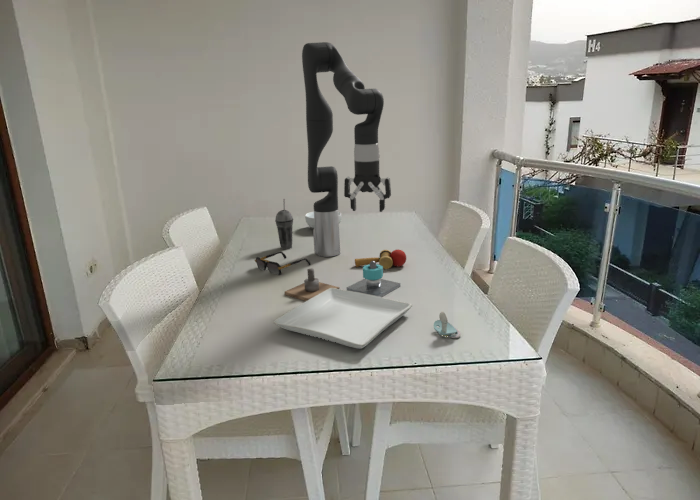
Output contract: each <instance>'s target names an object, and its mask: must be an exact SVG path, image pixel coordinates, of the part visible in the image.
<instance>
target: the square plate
mask: <svg viewBox="0 0 700 500" xmlns="http://www.w3.org/2000/svg"><path fill="white" fill-rule="evenodd" d="M412 307H413V304H412V303H409V302H404V301H400V300H395V299H390V298H386V297H384V296H382V297H378V296H373V295H369V294H364V293H359V292H353V291H347V289H340V288H339V289H336V288H329V289H327V290H326V291H324V292H322V293H320V294H318V295H316V296H315V297H313V298H311V299H309V300H308V301H304V302H302V303H300V304H299V305H297V306H296V307H294V308H292V309H291V310H288V311H287V312H286V313H284V314H283V315H281V316H279V317H277V318H276V319H274V320H273V321H272V323H273V324H275V325H276V326H278V327H280V328H282V329H284V330H287V331H290V332H295V333H299V334H302V335H305V334H306V336H309V335H310V336H309V337H313V336H314V337H313V338H316V337H318V338H317V339H320V338H322V339H321V340H324V339H325V340H324V341H328V340H329V341H328V342H332V343H335V342H336V343H335V344H340V345H341V346H346V347H350V348H353V349H360V350H361V349H363V348H364V347H366V346H368V345H369V344H370V343H371V342H372V341H373V340H374V339H375V338H377V337H378V336H379V335H380V334H381V333H382V332H383V331H384V330H386V329H387V328H389V327H390V326H391V325H393V324H395V322H397V321H398V320H399V319H401V318H402V317H403V316H404V315H405V314H406V313H407V312H409V310H410V309H412Z"/></svg>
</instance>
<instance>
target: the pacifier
mask: <svg viewBox="0 0 700 500" xmlns="http://www.w3.org/2000/svg"><path fill="white" fill-rule="evenodd" d="M433 330H434V331H436V332H437V333H438V335H439V336H441V335H443V336H446V337H447V336H448V338H450V337H451V339H458V338H460V337H461V336H460V335H462V334H461V331H460V330H459V329H458V328H457V327H455V326H453V325H452V324H451V323H450V322H449V321H448V317H447V315H446V313H445V312H444V311H440V313H439V319H437V320H435V321H434V323H433ZM456 332H457V333H456ZM443 336H442V337H443ZM446 337H445V338H446Z"/></svg>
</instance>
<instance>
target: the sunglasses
mask: <svg viewBox="0 0 700 500" xmlns="http://www.w3.org/2000/svg"><path fill="white" fill-rule="evenodd" d="M278 254H281V255H282V258H284V260H285V259H287V255H286V254H285V253H284V252H283V251H278V252H273V253H271V254H267V255H265V256H261V257H260V256H256V257H255V259H254V262H255V263H256V265H257V268H258V269H260V270H262V271H263V272H265V271H266V270H268V271H269V273H270V274H273V275H278V276H280V275H282V270H283V269H285V268H289V267H291V266H293V265H296V264H298V263H301V262H302V261H306V264H307V266H311V262H310V260H308V259H307V258H301V259H298V260H295V261H292V262H289V263H287V264H284V265H282V266H281V265H280V263H278V262H275V261H271V260H267V259H268V258H271V257H273V256H276V255H278Z"/></svg>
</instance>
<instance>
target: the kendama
mask: <svg viewBox="0 0 700 500" xmlns="http://www.w3.org/2000/svg"><path fill="white" fill-rule="evenodd" d="M371 261H375V262H376V264H379V265H381V266H383V270H388V269H389V270H390V269H391V268H392V266H394V267H402V266H404V265H405V264H406V261H407V255H406V252H405V251H403V249H395V250H392V251H390V250H389V249H383V250H381V251H380V252H379V257H365V258H354V264H355V268H358V267H364V266H365V265H369V264H370V262H371Z"/></svg>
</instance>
